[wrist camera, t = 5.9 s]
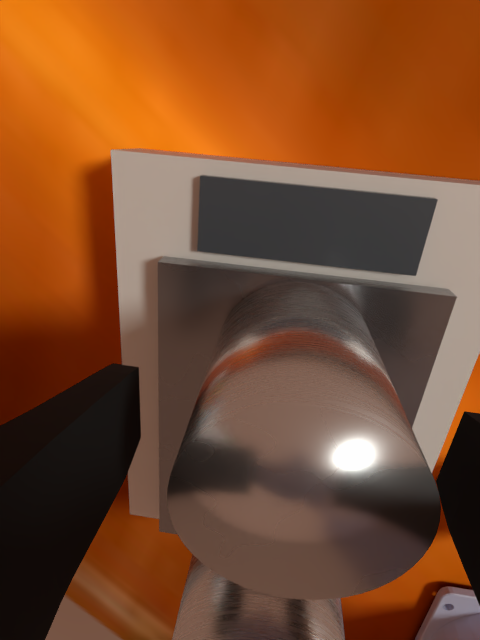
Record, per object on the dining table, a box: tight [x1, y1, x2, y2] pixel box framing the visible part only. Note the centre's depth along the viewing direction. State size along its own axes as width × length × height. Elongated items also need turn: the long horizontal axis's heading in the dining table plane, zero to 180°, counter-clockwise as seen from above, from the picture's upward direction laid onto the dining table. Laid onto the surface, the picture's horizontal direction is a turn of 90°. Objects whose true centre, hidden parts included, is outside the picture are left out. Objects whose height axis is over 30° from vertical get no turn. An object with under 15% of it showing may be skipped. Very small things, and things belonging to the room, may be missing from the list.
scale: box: [111, 148, 480, 519], centre depth 14 cm, size 14×11×2 cm
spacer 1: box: [167, 282, 441, 600], centre depth 9 cm, size 4×4×6 cm
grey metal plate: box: [158, 256, 457, 534], centre depth 13 cm, size 11×8×1 cm
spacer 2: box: [172, 554, 345, 640], centre depth 12 cm, size 4×4×6 cm
